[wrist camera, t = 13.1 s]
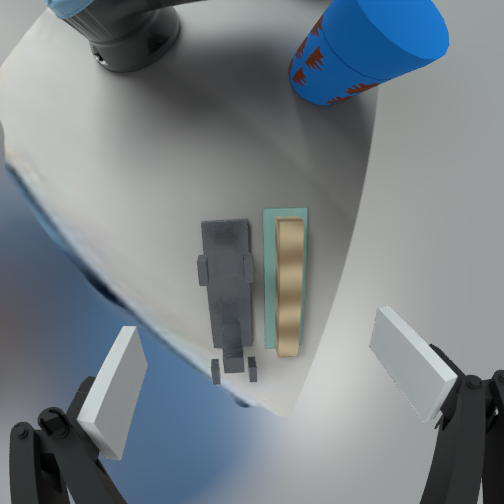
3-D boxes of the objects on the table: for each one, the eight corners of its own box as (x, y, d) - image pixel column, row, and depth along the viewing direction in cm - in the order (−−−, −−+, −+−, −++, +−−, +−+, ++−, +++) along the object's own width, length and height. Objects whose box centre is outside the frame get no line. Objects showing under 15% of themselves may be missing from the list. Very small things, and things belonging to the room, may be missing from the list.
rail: (275, 216, 43) (279, 221, 39) (296, 215, 43) (303, 220, 39) (274, 344, 50) (278, 357, 46) (293, 342, 50) (297, 355, 46)
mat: (262, 208, 43) (263, 209, 42) (306, 207, 43) (307, 207, 43) (265, 346, 51) (265, 348, 50) (300, 343, 51) (301, 344, 51)
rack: (201, 221, 42) (192, 244, 30) (247, 218, 43) (255, 240, 31) (214, 344, 49) (212, 393, 37) (251, 341, 50) (259, 390, 38)
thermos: (357, 69, 36) (454, 16, 13) (338, 117, 39) (443, 85, 15) (300, 39, 34) (364, -47, 11) (277, 87, 37) (335, 9, 13)
